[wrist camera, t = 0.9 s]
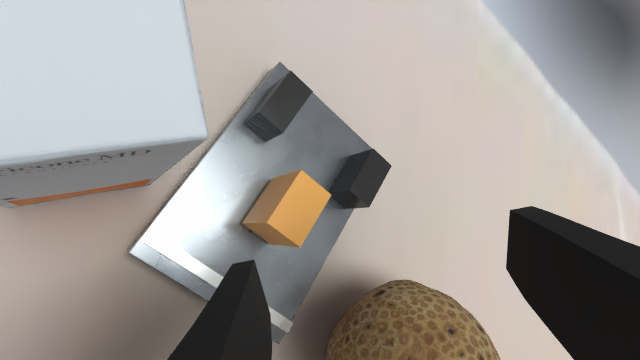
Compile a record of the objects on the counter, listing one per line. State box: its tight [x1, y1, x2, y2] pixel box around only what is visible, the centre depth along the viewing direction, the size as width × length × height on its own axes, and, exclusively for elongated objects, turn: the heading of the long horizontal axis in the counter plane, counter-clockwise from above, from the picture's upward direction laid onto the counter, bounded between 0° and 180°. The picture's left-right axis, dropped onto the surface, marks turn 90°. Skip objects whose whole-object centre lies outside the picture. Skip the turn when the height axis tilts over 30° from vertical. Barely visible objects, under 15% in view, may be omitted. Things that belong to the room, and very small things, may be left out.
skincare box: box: [0, 0, 209, 208], centre depth 13 cm, size 6×4×12 cm
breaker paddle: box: [242, 170, 331, 247], centre depth 19 cm, size 3×2×4 cm, turn 146°
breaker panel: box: [128, 62, 391, 344], centre depth 21 cm, size 13×9×4 cm
